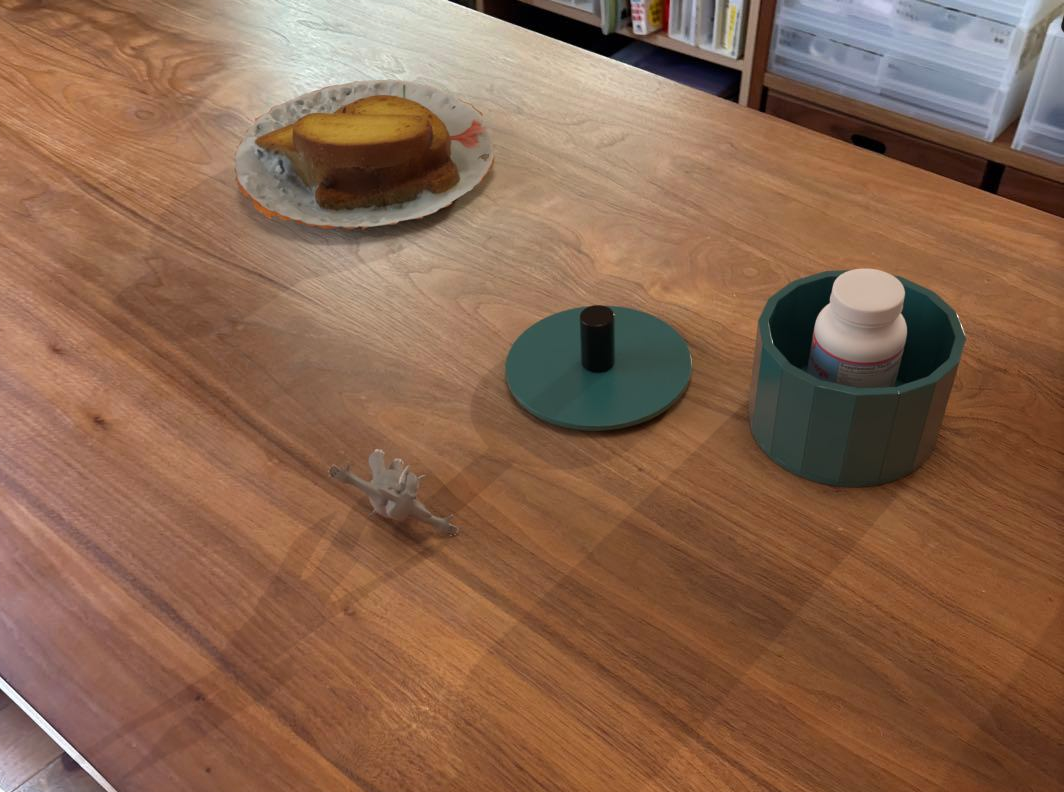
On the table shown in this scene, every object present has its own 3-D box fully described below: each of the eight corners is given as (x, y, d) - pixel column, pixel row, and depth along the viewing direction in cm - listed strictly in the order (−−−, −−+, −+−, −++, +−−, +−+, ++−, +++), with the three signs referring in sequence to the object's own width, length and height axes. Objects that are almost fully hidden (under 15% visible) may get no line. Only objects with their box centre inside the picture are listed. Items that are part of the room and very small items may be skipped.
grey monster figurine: (465, 461, 81) (486, 513, 73) (422, 526, 83) (438, 584, 75) (345, 397, 77) (353, 444, 69) (303, 467, 79) (306, 521, 71)
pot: (821, 339, 88) (837, 247, 81) (974, 417, 81) (1004, 323, 74) (711, 425, 82) (718, 333, 76) (864, 516, 75) (887, 424, 69)
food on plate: (448, 86, 119) (441, 24, 114) (535, 199, 104) (532, 134, 99) (216, 143, 114) (198, 82, 109) (271, 272, 99) (253, 207, 94)
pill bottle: (799, 386, 83) (819, 259, 75) (883, 390, 82) (912, 262, 74) (801, 442, 79) (822, 315, 71) (889, 446, 79) (921, 318, 70)
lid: (595, 294, 93) (594, 236, 89) (729, 368, 86) (735, 309, 82) (468, 377, 87) (461, 320, 83) (601, 465, 80) (600, 407, 76)
